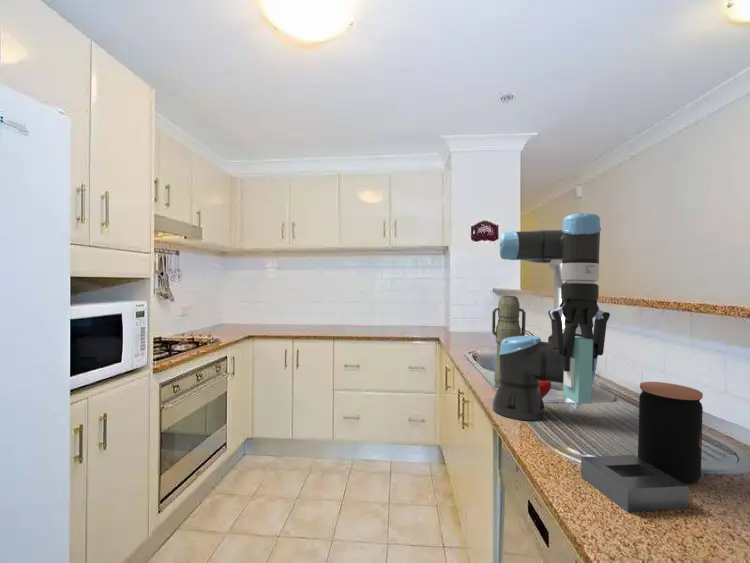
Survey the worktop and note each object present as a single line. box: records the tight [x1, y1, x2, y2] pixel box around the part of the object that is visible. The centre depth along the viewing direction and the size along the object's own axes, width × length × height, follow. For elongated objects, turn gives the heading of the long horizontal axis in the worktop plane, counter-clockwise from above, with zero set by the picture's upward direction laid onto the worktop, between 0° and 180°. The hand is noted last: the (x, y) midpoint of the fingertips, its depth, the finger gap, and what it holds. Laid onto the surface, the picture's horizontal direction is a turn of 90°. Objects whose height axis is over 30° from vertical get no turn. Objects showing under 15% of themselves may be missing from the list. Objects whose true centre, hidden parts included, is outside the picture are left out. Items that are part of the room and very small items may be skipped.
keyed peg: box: [562, 336, 593, 405], centre depth 85 cm, size 6×3×14 cm, turn 3°
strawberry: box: [539, 381, 552, 400], centre depth 130 cm, size 6×8×10 cm
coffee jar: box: [637, 381, 704, 485], centre depth 80 cm, size 11×11×18 cm
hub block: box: [580, 454, 689, 513], centre depth 72 cm, size 12×12×4 cm
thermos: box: [491, 295, 527, 389], centre depth 142 cm, size 9×12×35 cm
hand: (576, 385), depth 85 cm, fingers closed on keyed peg, 3 cm apart
